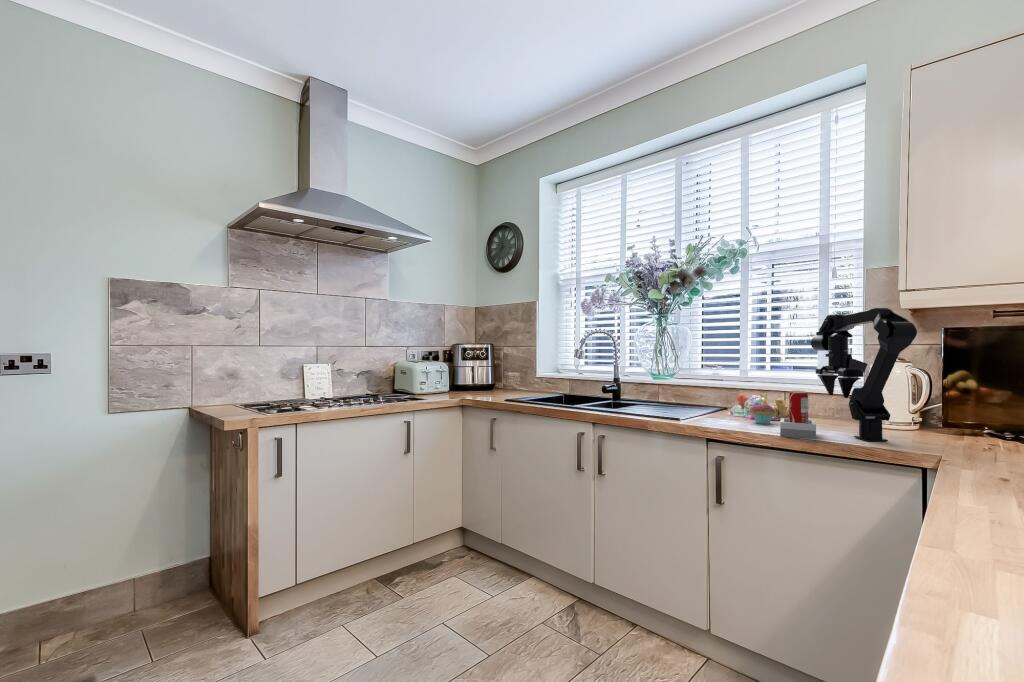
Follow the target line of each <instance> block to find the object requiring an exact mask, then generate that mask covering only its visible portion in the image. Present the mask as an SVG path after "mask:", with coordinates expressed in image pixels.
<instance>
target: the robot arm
mask: <svg viewBox="0 0 1024 682" xmlns="http://www.w3.org/2000/svg"><path fill="white" fill-rule="evenodd" d="M871 323H873V324H872V326H873V329H874V330H875V332H876V333H878V334H877V341H878V344H879V349H878V350H877V351H878V352H877V354H876V355H875V358H874V361H873V362H872V365H871V368H870V370H869V372H868V375H867V377H866V379H865V381H864V383H863V386H861V387H854V388H853V386H854V384H855V383H856V382H857V381H859V380H861V379H862V378H864V375H865V372H866V370H867V367H868V365H869V364H868V363H867V362H864V361H861V360H858V359H856V358H855V359H854V358H853V355H852V354H851V353H849V338H853V336H854V335H852V333H850V332H849V331H851V330H852V329H854V328H855V327H856V326H861V325H865V324H871ZM917 335H918V330H917V327H916V326H915V325H914V323H912V322H911V321H909V320H908V319H907V318H905V317H903V316H902V315H899V314H897V313H895V312H894V311H893V310H892V309H890V308H888V307H873V308H871V309H866V310H861V311H857V312H853V313H848V314H846V313H845V314H844V313H842V314H839V313H838V314H836V313H835V314H833V313H831V314H828V315H826V316H825V318H824V320H823V321H822V323H821V326H820V328H819V329H818V331H816V332H815V335H813V337H812V338H811V339H810V345H811V348H812V349H814V350H815V351H827V352H828V353H825V357H826V358H828V360H827V362H828V363H827V365H818V366H816V367H815V375H817V377H819V379H820V381H821V382H822V384H823V386H824V387H825V390H826V392H827V393H828V395H829V396H834V392H835V383H836V379H837V380H838V384H839V387H840V390H841V393H842V395H843V398H844V399H849V402H848V407H849V411H850V415H851V418H852V419H853V420H854V421H858V435H854V436H853V437H854V438H855V439H859V440H862V441H865V442H888V439H886V438H884V437H883V421H888V422H889V421H890V419H891V413H890V412H889V411H888V409H887V407H885V405H884V404H885V397H884V396H883V390H884V388H885V386H886V384H887V382H888V379H889V377H890V374H891V373H892V370H893V368H894V367H895V364H896V363H897V360H898V357H899V355H900V353H901V352H903V351H904V350H906V349H907V348H909V347H910V346H911V344H912V343H913V341H914V340H915V339H916V337H917Z"/></svg>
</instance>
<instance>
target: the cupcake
mask: <svg viewBox="0 0 1024 682" xmlns="http://www.w3.org/2000/svg"><path fill="white" fill-rule="evenodd" d="M764 398H765V399H764V405H754V406H753V407H751V409H750V413H752V414H753V416H754V418H755V419H754V421H755V424H761V425H769V424H770V423H771V421H772V420H771V418H772V416H773V415H774V414H775V410H774V409H773V408H772V407H771V406H772V405H770V406H769V405H766V400H768V392H767V391H766V393H765V394H764Z"/></svg>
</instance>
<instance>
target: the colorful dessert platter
mask: <svg viewBox="0 0 1024 682" xmlns="http://www.w3.org/2000/svg"><path fill="white" fill-rule="evenodd" d="M764 399H765V397H762V396H761V395H756V394H754V395H752V396H751V397H750V398H749V397H748V396H746V394H744V393H739V394H738V395H736V401H737V404H736V405H734V406H732V407H731V409H729V412H727V414H726V415H727V416H730V417H733V418H743V419H748V420H755V418H754V416H753V414H752V413H750V409H751V407H753V406H754V405H764ZM774 401H775V405H774V406H773V405H771V404H770V402H769V401H768V399H766V405H769V406H771V407H772V408H773V409H774V410H775V414H774V415H773V416H772V418H771V421H772V420H773V421H775V420H776V421H781V418H786V419H789V406H788V405H786V404H787V400H785V399H783V398H776V399H775V400H774Z"/></svg>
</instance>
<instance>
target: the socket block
mask: <svg viewBox="0 0 1024 682" xmlns="http://www.w3.org/2000/svg"><path fill="white" fill-rule="evenodd" d="M779 421H780V423H779V426H780V429H779V431H780V432H779V433H780V437H788V438H789V437H790V438H800V439H801V438H803V439H813V438H814V439H815V440H816V439H817V423H816V420H815V419H814V420H813V419H808V424H807V423H791V422H789V418H787V419H786V418H781V420H779Z"/></svg>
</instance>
